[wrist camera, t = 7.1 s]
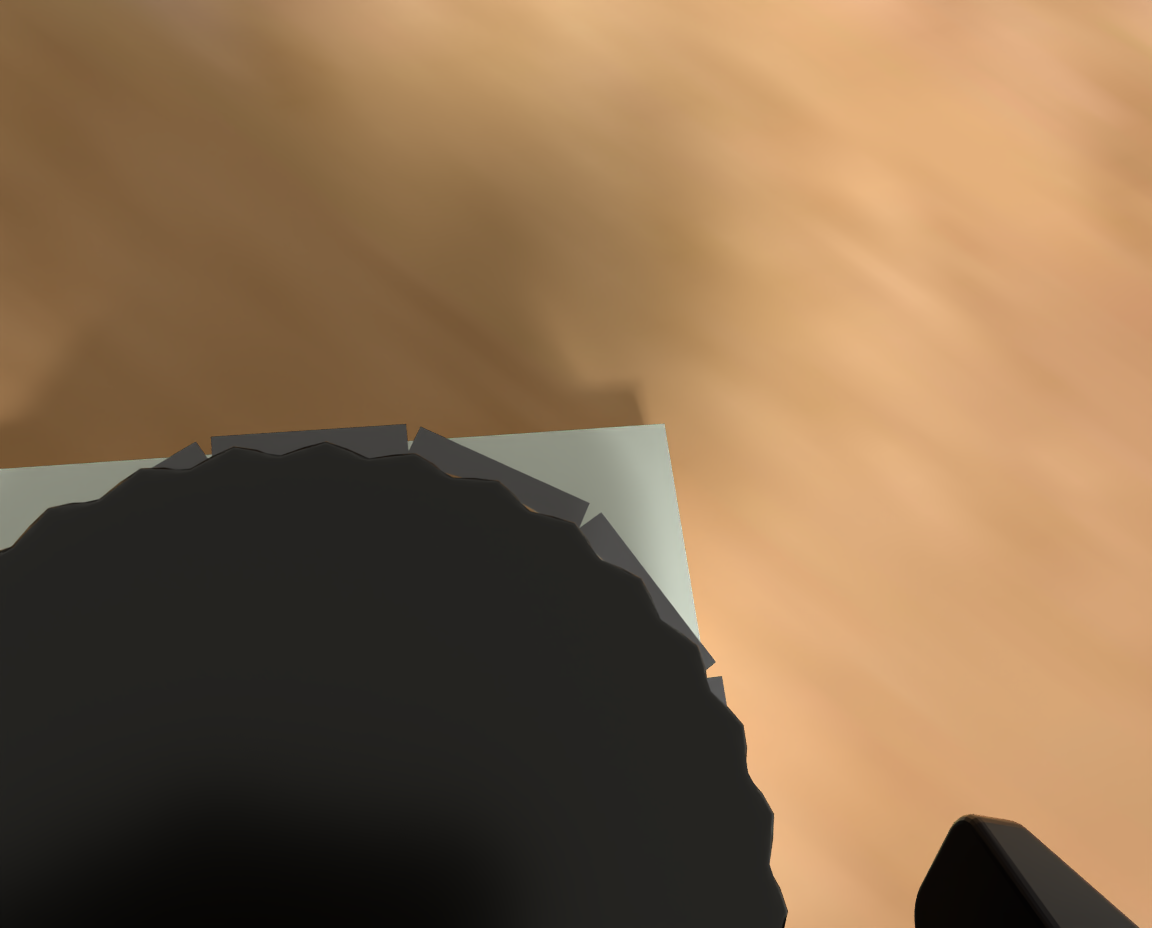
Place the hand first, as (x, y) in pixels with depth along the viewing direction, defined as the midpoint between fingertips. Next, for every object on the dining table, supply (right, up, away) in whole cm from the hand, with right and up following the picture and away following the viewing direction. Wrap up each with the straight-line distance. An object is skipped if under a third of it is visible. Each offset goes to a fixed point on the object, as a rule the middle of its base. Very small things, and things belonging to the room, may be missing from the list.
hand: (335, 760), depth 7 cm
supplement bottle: (-2, -4, +9) cm, 10 cm away
